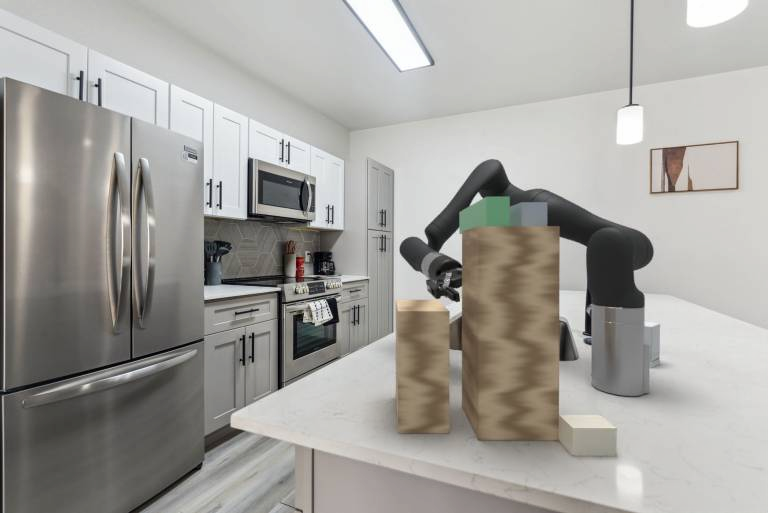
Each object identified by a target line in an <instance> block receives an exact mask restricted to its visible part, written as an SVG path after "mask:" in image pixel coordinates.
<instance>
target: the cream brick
mask: <svg viewBox="0 0 768 513" xmlns="http://www.w3.org/2000/svg"><path fill="white" fill-rule="evenodd" d="M617 432H618V428H617V427H616V426H614V424H612V423H611V422H609V421H608V420H606V419H605V418H604V417H603V416H601V415H600V414H597V415H596V414H559V440H558V441H559V442H560V444H562V445H563V447H564V448H565V449H566V450H567V451H568V452H569V453H570V454H571V455H572V456H573V457H576V456H577V457H593V456H594V457H617V456H618V455H617V454H618V453H617V452H618V451H617V449H618V448H617V445H618V444H617V441H618V440H617V439H618V438H617V435H618V434H617Z"/></svg>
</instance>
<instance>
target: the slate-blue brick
mask: <svg viewBox="0 0 768 513" xmlns="http://www.w3.org/2000/svg"><path fill="white" fill-rule="evenodd" d="M510 226H547V202H521V203H519V204H516V205H513V206H511V207H510Z"/></svg>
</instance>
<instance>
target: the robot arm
mask: <svg viewBox="0 0 768 513" xmlns="http://www.w3.org/2000/svg"><path fill="white" fill-rule="evenodd" d="M478 194H479V196H480V197H481V198H482V199H483V198H485V197H510V207H511V206H513V205H516V204H519V203H521V202H547V226H560V238H562V239H566V240H568V241H572V242H575V243H578V244H579V245H582V246H585V248H586V249H585V250H586V251H585V264H586V268H585V269H586V283H587V284H586V285H587V290H588V292H589V294H590V296H591V349H590V350H591V351H590V352H591V360H590V361H591V364H590V366H591V367H590V368H591V369H590V370H591V371H590V372H591V373H590V378H591V382H590V383H591V386H593V388H595V389H597V390H599V391H602V392H604V393H608V394H613V395H618V396H624V397H638V396H643V395H645V394H650V377H651V376H650V373H651V372H650V369H651V368H650V347H649V345H647V344H645V322H644V321H646V320H645V319H646V318H645V315H646V314H645V311H646V308H645V306H646V305H645V304H646V300H645V299H646V298H645V297H646V296H645V294H644V293H643V292H642V291H641V290H640V289H638V287H637V286H636V283H635V282H636V281H635V271H639V270H641V269H643V268H645V267H646V266H648V265H649V264H650V263H651V262H652V260H653V258H654V252H655V250H654V245H653V243H652V241H651V240H650V238H649V237H647V235H646V234H645V233H643V232H642V231H640V230H638V229H636V228H635V229H634V228H632V227H629V226H625V225H623V224H619V223H617V222H614V221H612V220H609V219H606V218H603V217H600V216H599V215H597V214H595V213H592V212H591V211H589V210H587V209H586V208H583V207H582V206H580V205H578V204H576V203H574V202H573V201H570V200H569V199H566V198H565V197H562V196H561V195H558V194H556V193H555V192H552V191H550V190H548V189H544V188H533V189H527V190H523V189H521V188H520V187H518V186H515V185H514V184H513V183H511V181H510V180H509V177H508V175H507V173H506V170H505V168H504V165H503V164H502V162H501V160H498V159H494V158H491V159H486V160H484V161H482V162H481V163H479V164H478V165H477V166H476V167H475V168H474V169H473V170H472V171H471V173H470V174H469V175H468V176H467V178H466V179H465V181H464V182H463V184H462V185H461V186H460V188H459V189H458V190H457V192H456V193H455V195H454V196H453V198H452V199H451V200H450V201H449V203H448V204H447V205H446V206H445V207H444V208H443V210H442V211H440V213H439V214H437V216H436V217H435V218H433V220H432V221H431V222H430V223H429V224H428V225H427V226H426V227H425V228H424V235H425V237H426V239H427V243H426V242H424V241H425V240H424V241H423V240H422V239H421V238H420V237H418V236H409V237H406V238H405V239H404V240H402V242H401V243H400V245H399V254H400V256H401V257H402V258H403V260H405V262H406V263H407V264H408V265H409V266H410V267H411V268H412V270H414V271H415V272H418V273H419V272H420V273H421V274H422V275H424V276H425V277H426V280H425V284H426V289H427V292H428V293H430V295H431V296H432V297H433V298H434V300H439V299H441V298H442V297H444V298H446V299H449V300H451V301H452V302H455V303H459V302H461V298H460V297H461V295H460V292H459V291H458V290H456V289H459V288H462V263H461V262H460V261H458V260H456V259H454V258H452V257H451V256H449V255H447V254H445V253H443V252H440V251H441V249H442V247H443V246H444V245H445V243H446V242H447V241H448V240H449V239H450V238H451V237H452V236H453V235H454V234H455V233H456V232H457V231H458V230H459V212H460V211H462V210H464V209H466V208H467V207H469V206H471V205H472V204H471V203H472V202H473V200H474V199H475V197H476V196H477V195H478Z"/></svg>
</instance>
